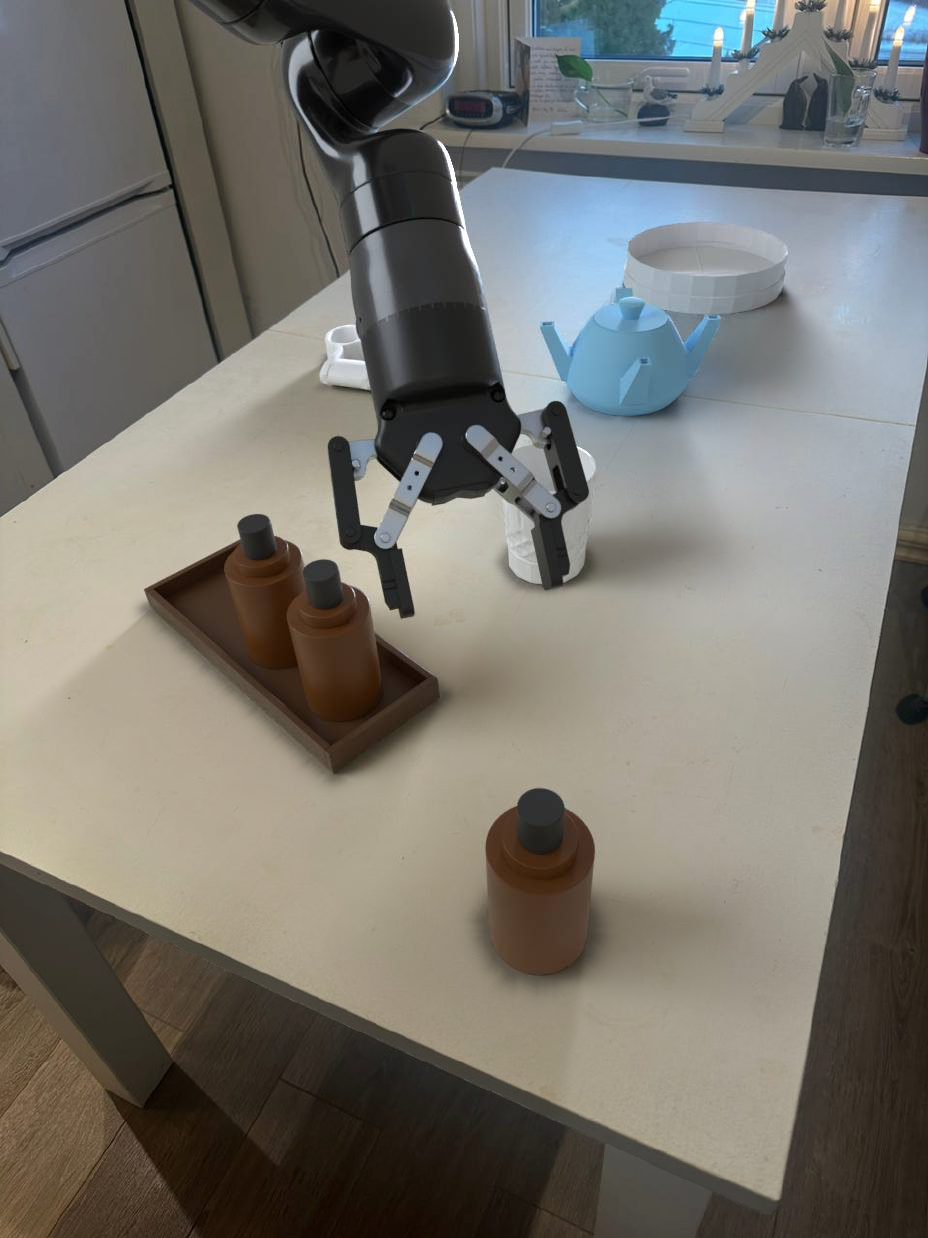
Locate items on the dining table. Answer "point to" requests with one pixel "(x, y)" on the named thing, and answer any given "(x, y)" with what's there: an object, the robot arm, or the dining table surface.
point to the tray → (213, 628)
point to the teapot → (629, 356)
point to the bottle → (539, 883)
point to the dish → (705, 267)
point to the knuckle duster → (344, 359)
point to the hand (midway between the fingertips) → (482, 602)
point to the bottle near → (335, 645)
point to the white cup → (572, 521)
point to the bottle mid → (265, 590)
